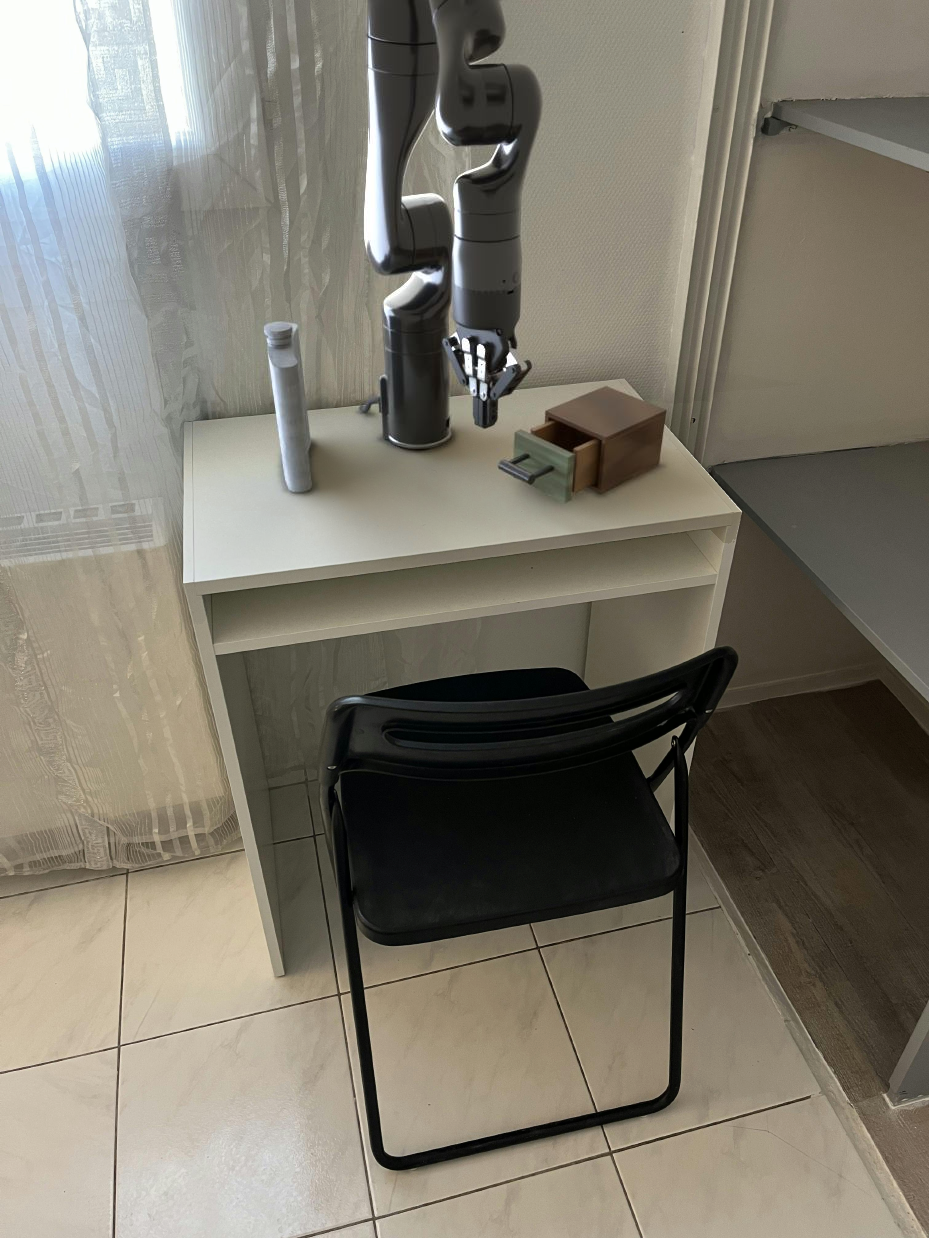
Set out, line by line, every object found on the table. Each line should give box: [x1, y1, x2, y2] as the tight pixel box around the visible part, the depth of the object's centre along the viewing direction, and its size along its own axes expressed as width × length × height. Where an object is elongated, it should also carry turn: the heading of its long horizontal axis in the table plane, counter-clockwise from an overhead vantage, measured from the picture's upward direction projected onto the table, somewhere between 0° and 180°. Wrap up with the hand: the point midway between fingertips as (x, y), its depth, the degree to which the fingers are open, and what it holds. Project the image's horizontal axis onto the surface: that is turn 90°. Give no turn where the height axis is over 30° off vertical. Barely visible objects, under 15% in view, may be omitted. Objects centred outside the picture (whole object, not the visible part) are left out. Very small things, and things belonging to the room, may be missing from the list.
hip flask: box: [263, 321, 313, 493], centre depth 126 cm, size 16×4×20 cm, turn 8°
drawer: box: [497, 419, 602, 504], centre depth 124 cm, size 16×10×7 cm, turn 132°
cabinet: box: [544, 385, 667, 495], centre depth 129 cm, size 12×11×8 cm
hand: (485, 425), depth 111 cm, fingers closed
